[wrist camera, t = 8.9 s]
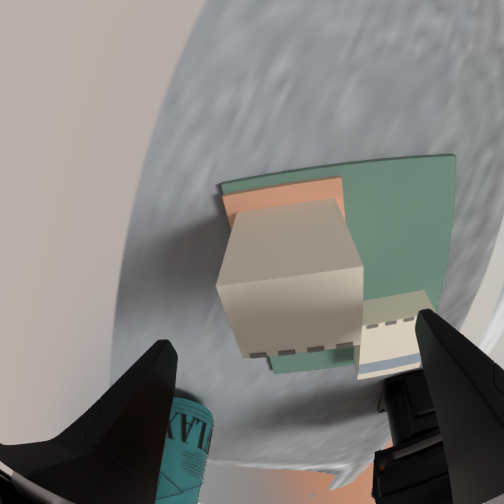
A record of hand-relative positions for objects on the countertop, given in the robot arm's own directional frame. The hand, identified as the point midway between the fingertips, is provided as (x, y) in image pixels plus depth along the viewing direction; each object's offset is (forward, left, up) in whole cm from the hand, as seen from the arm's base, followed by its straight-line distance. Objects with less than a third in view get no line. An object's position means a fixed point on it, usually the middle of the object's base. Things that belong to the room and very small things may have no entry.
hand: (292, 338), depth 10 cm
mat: (-5, -4, -8) cm, 10 cm away
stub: (0, 0, -7) cm, 7 cm away
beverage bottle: (-18, +13, -8) cm, 23 cm away
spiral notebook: (-9, -6, -8) cm, 13 cm away
